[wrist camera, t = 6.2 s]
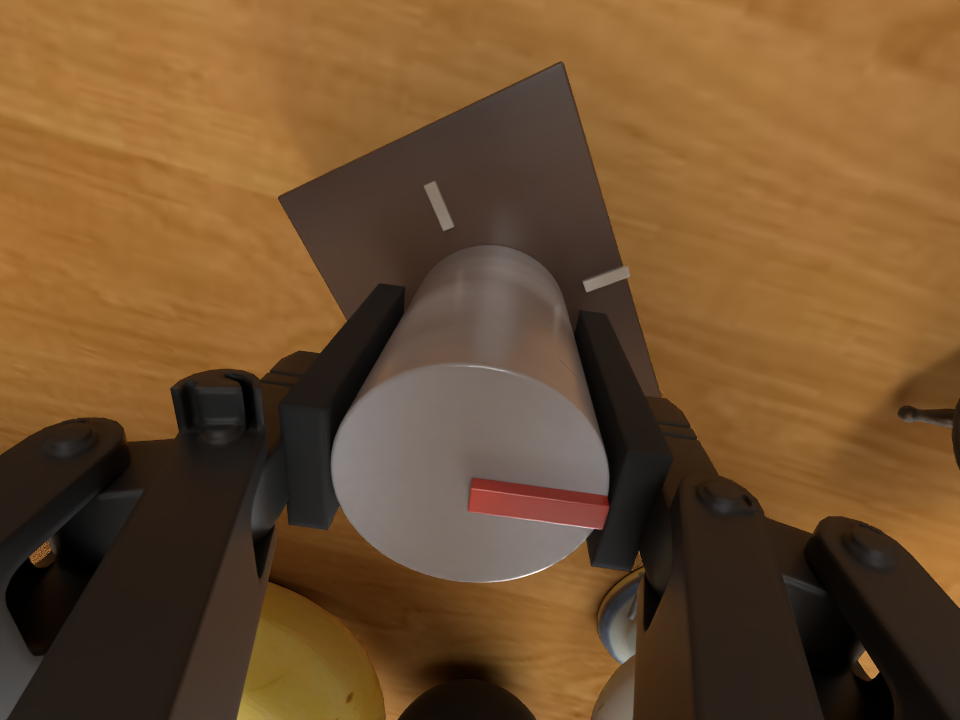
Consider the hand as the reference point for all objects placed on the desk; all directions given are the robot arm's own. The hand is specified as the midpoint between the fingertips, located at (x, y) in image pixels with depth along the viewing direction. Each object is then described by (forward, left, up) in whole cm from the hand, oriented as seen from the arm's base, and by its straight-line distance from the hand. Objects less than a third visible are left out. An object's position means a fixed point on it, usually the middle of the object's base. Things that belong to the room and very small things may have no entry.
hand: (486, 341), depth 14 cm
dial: (0, 0, -2) cm, 2 cm away
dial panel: (0, 0, -5) cm, 5 cm away
